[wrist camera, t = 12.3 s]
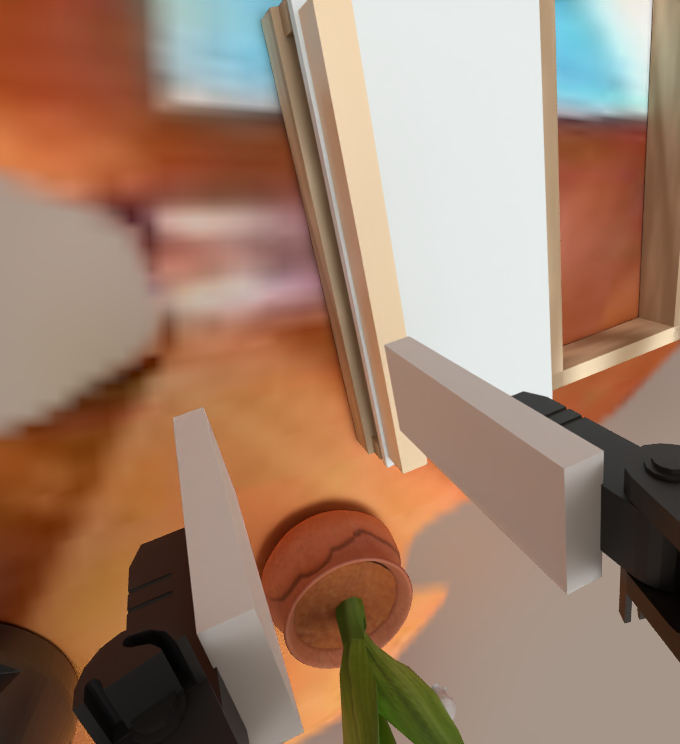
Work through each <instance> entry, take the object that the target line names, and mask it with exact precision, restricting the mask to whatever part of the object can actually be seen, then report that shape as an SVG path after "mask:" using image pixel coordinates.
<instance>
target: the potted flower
mask: <svg viewBox="0 0 680 744" xmlns="http://www.w3.org/2000/svg"><path fill="white" fill-rule="evenodd" d="M261 583H262V587H263V590H264V594H265V597H266V601H267V604H268V608H269V611H270V615H271V618H272V621H273V622H274V624H275V625H276V626H277V627H278V628H279V629H280V631H282V632H283V633H284V640H285V643H286V646H287V648H288V650H289V651H290V653H291V654H292V655H293V656H294V657H295V658H296V659H297V660H299V661H300V662H302V663H303V664H306V665H309V666H312V667H317V668H327V669H331V668H340V667H341V668H340V691H341V709H342V727H343V744H396V742H395V739H394V737H393V734H392V732H391V729H390V727H389V724H388V722H390V723H391V724H392V725H393V726H394V727H395V728H397V729H398V730H399V731H400V732H401V733H402V734H404V735H405V736H406V737H407V738H408V739H409V740H411V741H412V742H413V743H414V744H464V743H463V740H462V738H461V735H460V733H459V731H458V729H457V727H456V726H455V724H454V722H453V719H454V717H455V711H456V709H455V704H454V701H453V699H452V698H451V697H450V696H448V695H447V694H446V692H445V691H446V690H447V688H446V687H442V688H441V689H440V687H439V684H438V683H437V684H434V685H433V686H432V688H430V687H429V686H428V685H427V684H426V683H425V682H424V681H423V680H422V679H421V678H420V677H419V676H418V675H417V674H416V673H415V672H414V671H412V669H410V668H409V667H408V666H406V665H404V664H402V663H400V662H398V661H396V660H394V659H393V658H392V657H391V656H389V655H388V654H387V653H386V652H384V651H383V650H382V649H381V648H382V647H384V646H385V645H386V644H387V643H388V642H389V641H390V640H391V639H392V638H393V637H394V636H395V634H396V633H397V632H398V631H399V629H400V628H401V626H402V625H403V623H404V621H405V619H406V617H407V615H408V613H409V610H410V607H411V602H412V585H411V581H410V579H409V576H408V574H407V573H406V572H405V570H404V569H403V568H402V567H401V560H400V554H399V551H398V548H397V546H396V544H395V542H394V539H393V537H392V535H391V533H390V531H389V530H388V528H387V527H386V526H385V525H384V524H383V523H382V522H381V521H380V520H378V519H376V518H375V517H373V516H371V515H368V514H366V513H362V512H357V511H348V510H334V511H327V512H323V513H319V514H317V515H314V516H311V517H309V518H307V519H305V520H304V521H302V522H300V523H299V524H297V525H296V526H294V527H293V528H292V529H291V530H289V531H288V532H287V533H286V534H285V535H284V536H283V537H282V539H281V540H280V541H279V542H278V544H277V545H276V547H275V548H274V550H273V552H272V553H271V555H270V557H269V558H268V560H267V563H266V565H265V567H264V570H263V573H262V577H261ZM387 721H388V722H387Z"/></svg>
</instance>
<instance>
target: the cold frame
mask: <svg viewBox="0 0 680 744" xmlns="http://www.w3.org/2000/svg"><path fill="white" fill-rule="evenodd" d="M539 12H540V42H541V72H542V102H543V132H544V162H545V192H546V222H547V252H548V282H549V311H550V341H551V371H552V390H555V389H557V388H560V387H562V386H565V385H567V384H570V383H572V382H575V381H577V380H580V379H582V378H585V377H587V376H590V375H592V374H595V373H597V372H600V371H602V370H604V369H607V368H609V367H612V366H614V365H617V364H619V363H622V362H624V361H627V360H629V359H632V358H634V357H637V356H639V355H642V354H644V353H647V352H649V351H652V350H654V349H657V348H659V347H662V346H664V345H667V344H669V343H672V342H674V341H677V340H679V339H680V0H653V17H652V39H651V61H650V82H649V104H648V126H647V148H646V169H645V191H644V213H643V235H642V256H641V278H640V300H639V317H638V318H636V319H633V320H631V321H628V322H625V323H623V324H620V325H617V326H615V327H612V328H609V329H607V330H604V331H602V332H599V333H596V334H594V335H591V336H588V337H586V338H583V339H581V340H578V341H575V342H573V343H570V344H567V345H565V346H562V302H561V258H560V214H559V169H558V125H557V81H556V36H555V0H539ZM261 23H262V28H263V32H264V36H265V41H266V45H267V49H268V54H269V58H270V62H271V67H272V71H273V75H274V80H275V84H276V88H277V93H278V97H279V102H280V106H281V110H282V115H283V119H284V123H285V128H286V132H287V136H288V141H289V145H290V149H291V154H292V158H293V162H294V167H295V171H296V175H297V180H298V184H299V188H300V193H301V197H302V201H303V206H304V210H305V215H306V219H307V223H308V228H309V232H310V236H311V241H312V245H313V249H314V254H315V258H316V262H317V267H318V271H319V275H320V280H321V284H322V288H323V293H324V297H325V301H326V306H327V310H328V314H329V319H330V323H331V327H332V332H333V336H334V341H335V345H336V349H337V354H338V358H339V362H340V367H341V371H342V375H343V380H344V384H345V388H346V393H347V397H348V401H349V406H350V410H351V414H352V419H353V423H354V427H355V432H356V436H357V440H358V442H359V443H360V444H361V445H362V447H363V448H364V449H365V450H366V451H367V453H368V454H371V453H373V452H375V453H376V455H377V456H378V457H379V458H380V459H382V454H381V449H380V444H379V440H378V435H377V430H376V425H375V420H374V416H373V411H372V406H371V401H370V396H369V392H368V387H367V382H366V377H365V373H364V368H363V363H362V358H361V353H360V349H359V344H358V339H357V334H356V329H355V325H354V320H353V315H352V310H351V305H350V301H349V296H348V291H347V286H346V282H345V277H344V272H343V267H342V262H341V258H340V253H339V248H338V243H337V238H336V234H335V229H334V224H333V219H332V215H331V210H330V205H329V200H328V195H327V191H326V186H325V181H324V176H323V171H322V167H321V162H320V157H319V152H318V148H317V143H316V138H315V133H314V128H313V124H312V119H311V114H310V109H309V104H308V100H307V95H306V90H305V85H304V81H303V76H302V71H301V66H300V61H299V57H298V52H297V47H296V42H295V37H294V33H293V28H292V23H291V18H290V13H289V9H288V4H287V0H283V1H282V2H281V3H280V5H279V6H277V7H271V8H269V9H268V11H267V12H266V14H265V15H264V17H263V18H262V19H261Z"/></svg>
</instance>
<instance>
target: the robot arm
mask: <svg viewBox="0 0 680 744" xmlns="http://www.w3.org/2000/svg"><path fill="white" fill-rule="evenodd" d="M384 347H385V353H386V358H387V363H388V369H389V374H390V379H391V385H392V390H393V396H394V401H395V406H396V412H397V417H398V423H399V428H400V431H401V432H402V433H403V434H404V435H405V436H406V437H407V438H408V439H409V440H410V441H411V442H412V443H413V444H414V445H415V446H416V447H417V448H418V449H419V450H420V451H422V452H423V453H424V454H425V455H426V456H427V457H428V458H429V459H430V460H431V461H432V462H433V463H434V464H435V465H436V466H437V467H438V468H439V469H440V470H441V471H442V472H443V473H444V474H445V475H446V476H447V477H448V478H449V479H450V480H451V481H452V482H453V483H454V484H455V485H456V486H457V487H458V488H459V489H460V490H461V491H462V492H463V493H464V494H465V495H466V496H467V497H468V498H469V499H470V500H471V501H472V502H473V503H474V504H475V505H476V506H477V507H478V508H479V509H480V510H482V511H483V512H484V513H485V514H486V515H487V516H488V517H489V518H490V519H491V520H492V521H493V522H494V523H495V524H496V525H497V526H498V527H499V528H500V529H501V530H502V531H503V532H504V533H505V534H506V535H507V536H508V537H509V538H510V539H511V540H512V541H513V542H514V543H515V544H516V545H517V546H518V547H519V548H520V549H521V550H522V551H523V552H524V553H525V554H526V555H527V556H528V557H529V558H530V559H531V560H532V561H533V562H534V563H536V565H537V566H539V568H541V570H543V571H544V572H545V573H546V574H547V575H548V576H549V577H550V578H551V579H552V580H553V581H554V582H555V583H556V584H557V585H558V586H559V587H560V588H561V589H562V590H563V591H564V592H565V593H566V594H569V593H571V592H573V591H575V590H577V589H579V588H581V587H583V586H585V585H587V584H588V583H590V582H592V581H594V580H596V579H598V578H600V577H602V551H603V552H604V553H605V554H606V555H608V556H609V557H610V558H611V559H612V560H614V561H615V562H616V563H617V564H619V565H620V566H621V573H620V599H619V601H620V602H619V612H620V614H621V617H622V619H623V621H624V623H627V622H631V608H632V601H633V602H634V604H635V605H636V606H637V611H638V617H639V619H644V618H646V619H647V620H648V622H649V623H650V624H651V626H652V627H653V628H654V629H655V631H656V632H657V633H658V635H659V636H660V637H661V639H662V640H663V641H664V642H665V644H666V645H667V646H668V648H669V649H670V650H671V651H672V653H673V654H674V655H675V657H676V658H677V659H678V661H679V662H680V445H673V444H661V443H660V444H651V445H644V446H641V447H639V446H638V445H636V444H634V443H632V442H630V441H628V440H626V439H625V438H623V437H621V436H619V435H617V434H615V433H613V432H612V431H609V430H608V429H606V428H604V427H602V426H600V425H599V424H597V423H595V422H593V421H591V420H589V419H587V418H586V417H584V418H582V417H581V415H580V414H578V413H576V412H574V411H573V410H571V409H568V410H567V409H566V407H565V406H563V405H561V404H560V403H558V402H556V401H554V400H552V399H550V398H548V397H546V396H542V395H538V394H533V393H529V392H525V391H523V392H520V393H518V394H515V395H513V396H510V395H508V394H506V393H505V392H503V391H501V390H500V389H498V388H496V387H495V386H493V385H491V384H489V383H488V382H486V381H484V380H483V379H481V378H479V377H478V376H476V375H474V374H473V373H471V372H469V371H467V370H466V369H464V368H462V367H461V366H459V365H457V364H456V363H454V362H452V361H451V360H449V359H447V358H445V357H444V356H442V355H440V354H439V353H437V352H435V351H434V350H432V349H430V348H428V347H427V346H425V345H423V344H422V343H420V342H418V341H417V340H415V339H413V338H412V337H410V336H408V337H405V338H402V339H399V340H396V341H394V342H391V343H388V344H385V345H384ZM173 425H174V434H175V443H176V452H177V461H178V470H179V479H180V488H181V497H182V506H183V515H184V524H185V528H182V529H180V530H177V531H175V532H172V533H170V534H167V535H165V536H162V537H160V538H157V539H155V540H152V541H150V542H147V543H145V544H142V545H141V546H140V548H139V550H138V552H137V554H136V556H135V558H134V560H133V562H132V564H131V566H130V568H129V583H128V591H129V595H128V606H127V610H128V614H127V628H126V631H123V632H121V633H120V634H118V635H117V636H116V637H114V638H113V639H112V640H111V641H109V642H108V643H107V644H106V645H104V646H103V647H102V648H100V650H99V651H98V652H97V653H96V654H95V656H94V657H93V658H92V659H91V661H90V662H89V663H88V664H87V665H86V667H85V668H84V670H83V672H82V674H81V676H80V678H79V680H77V676H76V674H75V671H74V669H73V667H72V666H71V664H70V663H69V661H68V660H67V659H66V657H65V656H64V655H63V654H62V653H61V652H60V651H59V650H58V649H57V648H55V647H54V646H53V645H51V644H50V643H49V642H47V641H46V640H44V639H42V638H40V637H38V636H37V635H35V634H32V633H30V632H28V631H25V630H22V629H19V628H16V627H13V626H9V625H5V624H0V744H72V742H73V738H74V734H75V729H76V722H77V718H78V719H79V721H80V722H81V723H82V725H83V726H84V728H85V729H86V730H87V732H88V733H89V735H90V736H91V737H92V739H93V740H94V742H95V743H96V744H249V743H250V744H282V743H284V742H286V741H288V740H290V739H292V738H294V737H296V736H297V735H299V734H301V733H303V732H304V730H303V727H302V723H301V720H300V716H299V713H298V709H297V706H296V702H295V699H294V695H293V692H292V688H291V685H290V681H289V678H288V674H287V671H286V667H285V664H284V660H283V657H282V653H281V650H280V646H279V643H278V639H277V636H276V632H275V629H274V625H273V622H272V618H271V615H270V611H269V608H268V604H267V601H266V597H265V594H264V590H263V587H262V583H261V580H260V576H259V573H258V569H257V566H256V562H255V559H254V555H253V552H252V548H251V545H250V541H249V538H248V534H247V531H246V527H245V524H244V520H243V517H242V513H241V510H240V506H239V503H238V499H237V496H236V493H235V490H234V487H233V485H232V482H231V479H230V477H229V474H228V471H227V469H226V466H225V463H224V460H223V458H222V455H221V452H220V450H219V447H218V444H217V442H216V439H215V436H214V434H213V431H212V428H211V425H210V423H209V420H208V417H207V415H206V412H205V409H204V407H202V408H199V409H196V410H193V411H190V412H187V413H184V414H182V415H179V416H176V417H173Z"/></svg>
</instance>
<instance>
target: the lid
mask: <svg viewBox="0 0 680 744" xmlns="http://www.w3.org/2000/svg"><path fill="white" fill-rule="evenodd" d="M287 4H288V9H289V13H290V18H291V23H292V28H293V33H294V37H295V42H296V47H297V52H298V57H299V61H300V66H301V71H302V76H303V81H304V85H305V90H306V95H307V100H308V104H309V109H310V114H311V119H312V124H313V128H314V133H315V138H316V143H317V148H318V152H319V157H320V162H321V167H322V171H323V176H324V181H325V186H326V191H327V195H328V200H329V205H330V210H331V215H332V219H333V224H334V229H335V234H336V238H337V243H338V248H339V253H340V258H341V262H342V267H343V272H344V277H345V282H346V286H347V291H348V296H349V301H350V305H351V310H352V315H353V320H354V325H355V329H356V334H357V339H358V344H359V349H360V353H361V358H362V363H363V368H364V373H365V377H366V382H367V387H368V392H369V396H370V401H371V406H372V411H373V416H374V420H375V425H376V430H377V435H378V440H379V444H380V449H381V454H382V459H383V463H384V464H385V465H386V466H387V468H388V467H390V466H392V465H396V466H397V467H398V469H399V470H400V471H401V472H402V473H403V474H404V473H407V472H409V471H411V470H414V469H416V468H419V467H421V466H423V465H426V464H427V458H426V455H425V454H424V453H423V452H422V451H420V450H419V449H418V448H417V447H416V446H415V445H414V444H413V443H412V442H411V441H410V440H409V439H408V438H407V437H406V436H405V435H404V434H403V433H402V432H401V431H400V428H399V423H398V417H397V412H396V406H395V401H394V396H393V390H392V385H391V379H390V374H389V369H388V363H387V358H386V353H385V347H384V345H385V344H388V343H391V342H394V341H396V340H399V339H402V338H405V337H408V336H410V337H412V338H413V339H415V340H417V341H418V342H420V343H422V344H423V345H425V346H427V347H428V348H430V349H432V350H434V351H435V352H437V353H439V354H440V355H442V356H444V357H445V358H447V359H449V360H451V361H452V362H454V363H456V364H457V365H459V366H461V367H462V368H464V369H466V370H467V371H469V372H471V373H473V374H474V375H476V376H478V377H479V378H481V379H483V380H484V381H486V382H488V383H489V384H491V385H493V386H495V387H496V388H498V389H500V390H501V391H503V392H505V393H506V394H508V395H510V396H513V395H515V394H518V393H520V392H523V391H525V392H529V393H533V394H538V395H542V396H546V397H548V398H550V399H552V371H551V341H550V311H549V282H548V252H547V222H546V192H545V162H544V132H543V102H542V72H541V42H540V12H539V0H287Z"/></svg>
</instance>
